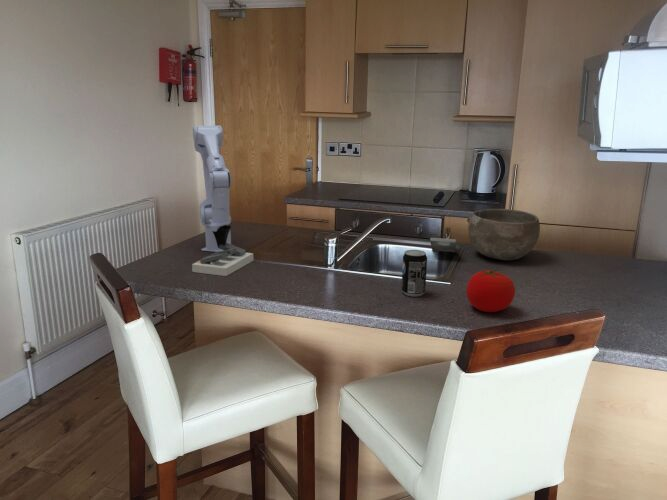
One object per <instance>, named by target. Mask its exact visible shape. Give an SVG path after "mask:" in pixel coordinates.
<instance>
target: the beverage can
mask: <svg viewBox="0 0 667 500" xmlns="http://www.w3.org/2000/svg"><path fill="white" fill-rule="evenodd" d="M427 267H428V256H427V253H426V251H424V250H420V249H407V250H405V251H404V253H403V255H402V270H401V271H402V272H401V273H402V274H401V292H402V293H403V294H404V295H405V296H406V297H417V298H418V297H421V296H423V295H424V294H425V293H426V287H427V286H426V285H427V269H428V268H427Z"/></svg>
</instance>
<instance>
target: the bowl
mask: <svg viewBox="0 0 667 500" xmlns="http://www.w3.org/2000/svg"><path fill="white" fill-rule="evenodd" d="M466 222H467V223H468V226H467V228H468V229H467V231H468V239H469V242H470V243H471V245H472V247H473V248H474V249H475V250H476V251H477V252H478V253H480V254H481V255H483V256H485V257H487V258H490V259H495V260H499V261H506V262H507V261H515V260H519V259H520V258H523V257H524V256H526V255H527V254H529V253H530V252H531V251H532V250H533V249H534V248H535V246H536V245H537V244H538V243H537V242H538V241H539V237H540V232H541V231H540V230H541V224H540V219H539V218H538V216H537V215H535V214H534V213H531V212H527V211H523V210H518V209H510V208H486V209H481V210H476V211H474V212H472V213H471V215H470V216H468V217H467V219H466Z"/></svg>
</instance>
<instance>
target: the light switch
mask: <svg viewBox="0 0 667 500" xmlns="http://www.w3.org/2000/svg"><path fill="white" fill-rule="evenodd" d="M429 240H430V241H429V242H430V246H431V251H434V252H445V253H446V252H447V253H448V252H449V253H450V252H451V253H457V239H454V238H453V239H452V238H441V237H439V238H438V237H430V239H429ZM442 258H443V257H442Z"/></svg>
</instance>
